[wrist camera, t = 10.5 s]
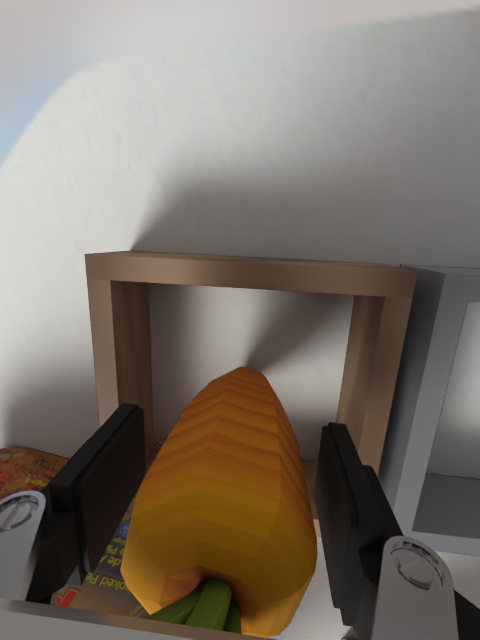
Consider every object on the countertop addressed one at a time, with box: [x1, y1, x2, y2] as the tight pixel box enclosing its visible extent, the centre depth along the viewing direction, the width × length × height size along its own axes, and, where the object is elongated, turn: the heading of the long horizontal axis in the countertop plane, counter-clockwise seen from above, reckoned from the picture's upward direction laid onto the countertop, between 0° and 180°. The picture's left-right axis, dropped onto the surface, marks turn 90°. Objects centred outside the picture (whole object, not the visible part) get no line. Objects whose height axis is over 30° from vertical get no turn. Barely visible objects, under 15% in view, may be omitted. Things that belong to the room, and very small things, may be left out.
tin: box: [0, 448, 149, 619], centre depth 17 cm, size 15×3×8 cm, turn 77°
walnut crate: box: [85, 251, 417, 537], centre depth 15 cm, size 13×13×4 cm
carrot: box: [120, 367, 317, 638], centre depth 10 cm, size 5×5×15 cm
